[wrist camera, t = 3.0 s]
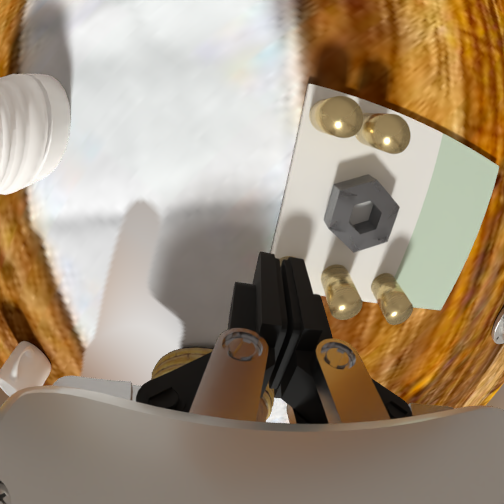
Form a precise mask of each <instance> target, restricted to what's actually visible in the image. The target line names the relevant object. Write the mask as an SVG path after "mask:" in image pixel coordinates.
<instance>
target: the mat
mask: <svg viewBox="0 0 504 504" xmlns="http://www.w3.org/2000/svg"><path fill="white" fill-rule="evenodd" d="M336 96H346V97H349V98H351V99H353V100H354V101H355V102H357V104H358V105H359V106H360V108H361V110H362V112H363V114H364V113H385V114H396V115H399V116H400V117H402V118H403V119H404V120H405V121H406V122H407V124H408V126H409V129H410V134H411V137H410V142H409V145H408V146H407V148H406V149H405V150H404V151H403V152H401V153H398V154H390V153H387V152H384V151H381V150H379V149H376V148H373V147H370V146H367V145H364V144H362V143H361V142H359V141H358V140H357V138H356V137H355V135H354V136H352V137H349V138H340V137H336V136H333V135H329V134H326V133H322V132H320V131H318V130H316V129H315V128H314V127H313V125H312V124H311V122H310V118H309V113H310V109H311V107H312V106H313V105H314V104H315V103H316V102H317V101H320V100H323V99H328V98H332V97H336ZM498 170H499V166H498V165H496V164H495V163H493V162H492V161H490V160H489V159H487V158H485V157H484V156H482V155H481V154H479V153H477V152H476V151H474V150H472V149H471V148H469V147H467V146H465V145H464V144H462V143H460V142H458V141H457V140H455V139H453V138H451V137H449V136H447V135H445V134H443V133H441V132H439V131H437V130H435V129H433V128H431V127H429V126H427V125H425V124H423V123H421V122H419V121H416V120H414V119H412V118H410V117H407V116H405V115H403V114H400V113H398V112H395V111H393V110H390V109H388V108H385V107H383V106H380V105H377V104H375V103H372V102H369V101H366V100H363V99H360V98H358V97H355V96H351V95H348V94H345V93H342V92H339V91H335V90H332V89H328V88H325V87H321V86H317V85H313V84H308V86H307V91H306V96H305V101H304V106H303V110H302V115H301V120H300V125H299V129H298V134H297V139H296V143H295V148H294V152H293V157H292V162H291V166H290V171H289V175H288V180H287V184H286V188H285V193H284V197H283V202H282V206H281V210H280V215H279V219H278V223H277V228H276V232H275V236H274V241H273V245H272V249H271V253H270V254H275V258H278V259H280V258H282V257H285V256H293V257H296V258H300V259H304V262H305V266H306V269H307V273H308V276H309V280H310V283H311V287H312V290H313V294H319V295H321V296H326V295H325V292H324V289H323V286H322V283H321V275H322V273H323V271H324V270H325V269H326V268H327V267H329V266H331V265H335V264H338V265H342V266H344V267H345V268H346V269H347V270H348V272H349V274H350V276H351V278H352V281H353V283H354V285H355V287H356V289H357V291H358V293H359V295H360V297H361V300H362V301H365V302H373V303H378V302H377V301H376V299H375V297H374V295H373V293H372V291H371V284H372V282H373V280H374V279H375V278H376V277H377V276H379V275H380V274H383V273H389V274H391V275H393V276H394V278H395V279H396V281H397V282H398V284H399V285H400V287H401V288H402V290H403V291H404V293H405V294H406V296H407V297H408V299H409V300H410V302H411V303H412V305H413V307H415V308H424V309H434V310H441V308H442V307H443V305H444V303H445V301H446V300H447V298H448V296H449V294H450V292H451V290H452V288H453V286H454V284H455V283H456V281H457V279H458V277H459V275H460V272H461V270H462V268H463V266H464V264H465V262H466V260H467V258H468V255H469V253H470V251H471V248H472V246H473V244H474V241H475V239H476V236H477V234H478V231H479V229H480V226H481V224H482V221H483V218H484V215H485V213H486V210H487V207H488V204H489V201H490V198H491V194H492V191H493V188H494V184H495V181H496V177H497V174H498ZM368 174H369V175H370V176H372V177H374V178H375V179H377V180H378V181H379V183H380V184H381V185H382V186H383V187H384V188H385V190H386V191H387V192H388V193H389V194H390V196H391V197H392V198H393V199H394V201H395V202H396V203H397V204H398V205H399V207H400V208H399V211H398V214H397V217H396V220H395V223H394V225H393V228H392V231H391V234H390V236H389V239H388V242H385V243H382V244H379V245H376V246H373V247H370V248H367V249H364V250H361V251H357V252H354V253H353V252H352V251H351V250H350V249H349V248H348V247H347V246H346V245H345V244H344V243H343V242H342V241H341V240H340V239H339V238H338V237H337V236H336V235H335V234H334V233H332V232H331V231H330V230H329V229H328V227H327V225H326V224H325V222H324V216H325V213H326V209H327V206H328V202H329V199H330V195H331V191H332V188H333V184H336V183H340V182H343V181H346V180H350V179H353V178H357V177H361V176H364V175H368ZM372 207H373V204H372V203H371V202H370V201H367V202H364V203H360V204H357V205H354V207H353V211H352V214H351V217H350V220H349V221H350V222H351V223H352V224H353V225H355V224H358V223H361V222H364V221H368V220H369V216H370V213H371V210H372Z"/></svg>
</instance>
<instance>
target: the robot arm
mask: <svg viewBox="0 0 504 504" xmlns="http://www.w3.org/2000/svg"><path fill="white" fill-rule="evenodd" d="M492 339H493V340H494V342H495V343H497V344H502V343H504V307H503V309H502V310H501V312H500V314H499V315H498V317H497V319H496V321H495V323H494V326H493V329H492ZM268 382H269V388H270V389H274V398H281V399H282V400H284V401H285V402H286V403H287V414H288V418H289V423H290V424H287V423H268V422H255V421H256V415H257V410H258V405H259V400H260V398H262V397H263V394H264V392H265V389H266V387H267V384H268ZM0 504H504V410H503V409H500V408H496V407H492V406H469V407H462V408H456V409H454V408H452V407H448V406H437V405H426V404H417V403H410V404H409V405H408V404H407V403H406V402H405V401H404V400H403V399H401V398H400V397H398V396H397V395H395V394H394V393H392V392H391V391H389V390H388V389H386V388H385V387H383V386H382V385H380V384H379V383H377V382H376V381H374V380H373V379H372V378H371V377H370V375H369V373H368V371H367V369H366V367H365V365H364V363H363V361H362V359H361V358H360V356H359V354H358V352H357V351H356V349H355V348H354V347H352V346H351V345H350V344H348V343H347V342H345V341H342V340H339V339H333V338H332V334H331V330H330V327H329V323H328V320H327V316H326V313H325V310H324V306H323V303H322V299H321V297H320V295H319V294H313V290H312V287H311V283H310V280H309V276H308V273H307V269H306V266H305V262H304V259H300V258H294V257H289V258H288V260H284V259H283V261H282V264H281V266H280V259H278V258H275V254H270V253H264V252H260V253H259V257H258V262H257V266H256V271H255V275H254V280H253V284H246V283H239V282H235V286H234V291H233V297H232V303H231V309H230V316H229V323H228V330H226V331H224V332H223V333H222V334H220V336H219V337H218V339H217V341H216V344H215V346H214V349H213V351H212V352H210V353H208V354H206V355H204V356H202V357H200V358H198V359H196V360H193V361H191V362H189V363H187V364H185V365H183V366H181V367H179V368H177V369H174V370H172V371H170V372H168V373H166V374H164V375H161V376H159V377H157V378H155V379H152V380H150V381H148V382H147V383H145V384H144V385H142V386H136V385H132V383H131V382H125V381H112V380H103V379H94V378H85V377H78V376H65V377H62V378H60V379H58V380H57V381H56V382H55V383H54V384H53V386H34V387H28V388H24V389H21V390H19V391H17V392H15V393H14V394H12V395H11V396H10V397H9V398H8V399H7V400H6V401H5V402H4V403H3V405H2V406H1V408H0Z"/></svg>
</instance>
